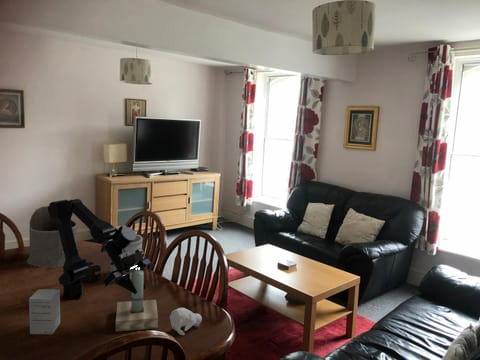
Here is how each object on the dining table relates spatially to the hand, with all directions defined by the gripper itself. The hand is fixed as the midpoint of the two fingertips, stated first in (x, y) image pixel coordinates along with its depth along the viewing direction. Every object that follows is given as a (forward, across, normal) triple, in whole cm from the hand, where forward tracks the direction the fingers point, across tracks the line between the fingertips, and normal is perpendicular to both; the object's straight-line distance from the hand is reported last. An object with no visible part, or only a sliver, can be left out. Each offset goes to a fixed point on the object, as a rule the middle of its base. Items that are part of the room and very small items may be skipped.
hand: (140, 291), depth 136 cm
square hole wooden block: (+7, 0, +9) cm, 11 cm away
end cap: (-23, +15, +39) cm, 48 cm away
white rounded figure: (+20, +5, -4) cm, 21 cm away
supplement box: (-8, -21, +24) cm, 33 cm away
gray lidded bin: (-43, +21, +60) cm, 77 cm away
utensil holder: (-16, +28, +32) cm, 46 cm away
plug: (+4, 0, +6) cm, 7 cm away
